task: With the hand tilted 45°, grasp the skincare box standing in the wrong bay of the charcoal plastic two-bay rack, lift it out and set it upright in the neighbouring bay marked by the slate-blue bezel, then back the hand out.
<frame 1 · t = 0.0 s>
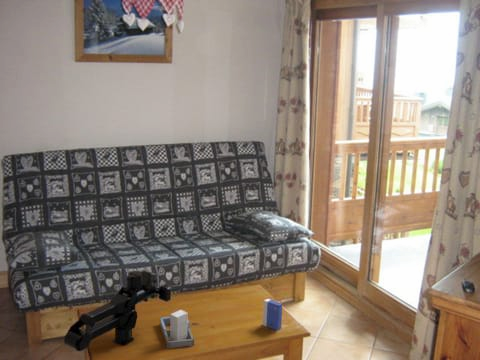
hand: (164, 282, 253), 17 cm above the table, tool horizontal, fingers open, 9 cm apart
skincare box: (178, 340, 238), resting in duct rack
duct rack: (176, 334, 243), on the table
walkman: (271, 327, 253), on the table
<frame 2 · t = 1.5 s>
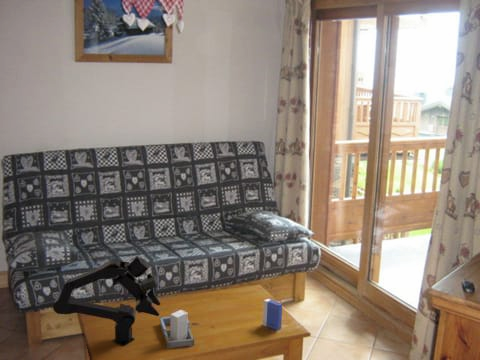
hand: (159, 309, 235), 13 cm above the table, tool tilted 45°, fingers open, 9 cm apart
nothing on the table moved.
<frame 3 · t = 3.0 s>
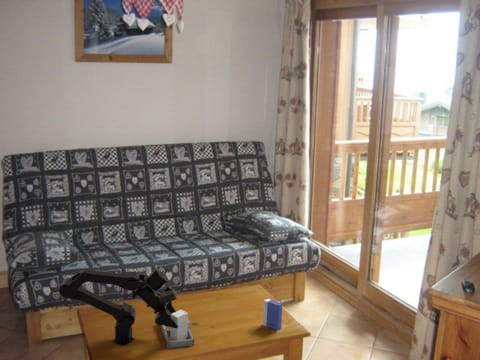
hand: (177, 322, 236), 8 cm above the table, tool tilted 45°, fingers open, 9 cm apart
nothing on the table moved.
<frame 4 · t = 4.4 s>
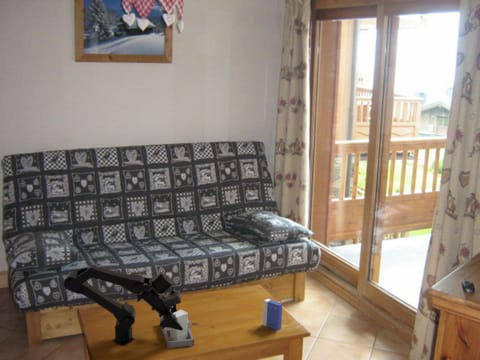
hand: (182, 325, 237), 7 cm above the table, tool tilted 45°, fingers closed on skincare box, 7 cm apart
skincare box: (178, 340, 238), resting in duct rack, touching gripper
everything else where it was.
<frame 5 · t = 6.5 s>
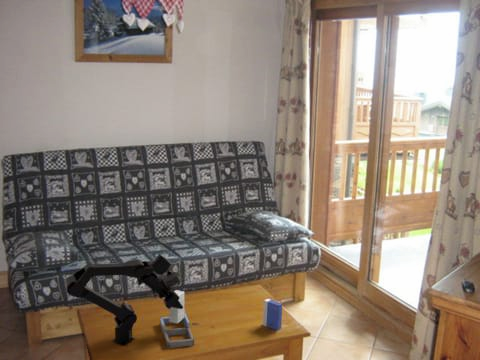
hand: (179, 304, 243), 12 cm above the table, tool tilted 45°, fingers closed on skincare box, 7 cm apart
skincare box: (176, 320, 244), point 5 cm above the table, touching gripper
everything else where it was.
when the fingers open (8 cm above the table, at t = 8.7 s): skincare box drops 1 cm, resting in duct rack.
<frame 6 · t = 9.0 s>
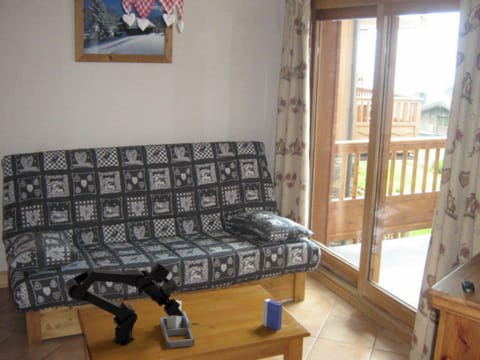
hand: (177, 310, 246), 8 cm above the table, tool tilted 45°, fingers open, 9 cm apart
skincare box: (174, 329, 247), resting in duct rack
everything else where it was.
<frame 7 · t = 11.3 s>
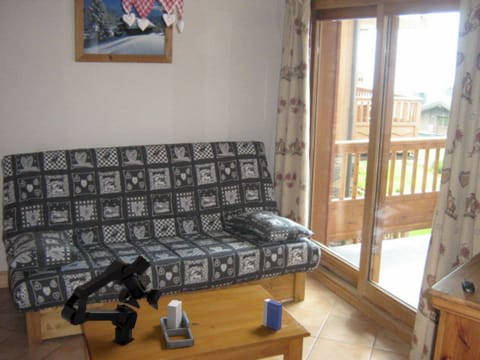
hand: (148, 308, 243), 10 cm above the table, tool tilted 30°, fingers open, 9 cm apart
nothing on the table moved.
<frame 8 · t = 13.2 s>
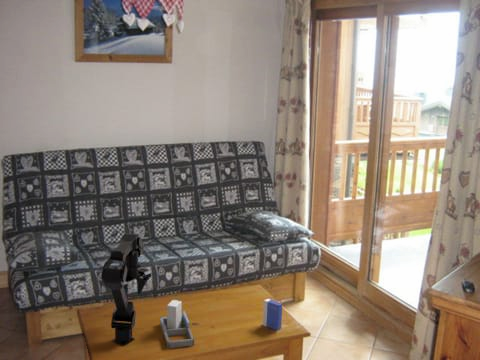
hand: (131, 297, 246), 13 cm above the table, tool pointing down, fingers open, 9 cm apart
nothing on the table moved.
at the end: skincare box 0.3 cm from the target spot on the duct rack, point 0.0 cm above the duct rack's base; skincare box tilted 0°; the gripper is holding nothing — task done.
